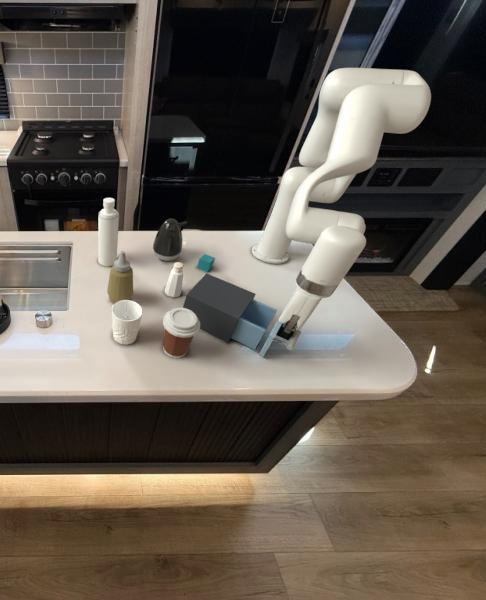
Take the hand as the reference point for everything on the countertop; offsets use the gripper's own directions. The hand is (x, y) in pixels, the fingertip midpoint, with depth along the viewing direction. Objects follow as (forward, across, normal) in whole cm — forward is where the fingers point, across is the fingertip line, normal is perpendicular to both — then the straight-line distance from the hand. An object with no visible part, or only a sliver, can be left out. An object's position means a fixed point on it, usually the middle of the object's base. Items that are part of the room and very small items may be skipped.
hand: (283, 336), depth 81 cm
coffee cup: (+5, +17, -21) cm, 28 cm away
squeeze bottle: (+5, +11, -44) cm, 46 cm away
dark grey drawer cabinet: (+5, 0, -18) cm, 19 cm away
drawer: (+4, 0, -6) cm, 7 cm away
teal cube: (+5, -22, -31) cm, 38 cm away
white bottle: (+6, -3, -60) cm, 60 cm away
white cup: (+5, +22, -34) cm, 41 cm away
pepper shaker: (+5, -3, -33) cm, 33 cm away
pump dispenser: (+6, -19, -45) cm, 49 cm away
